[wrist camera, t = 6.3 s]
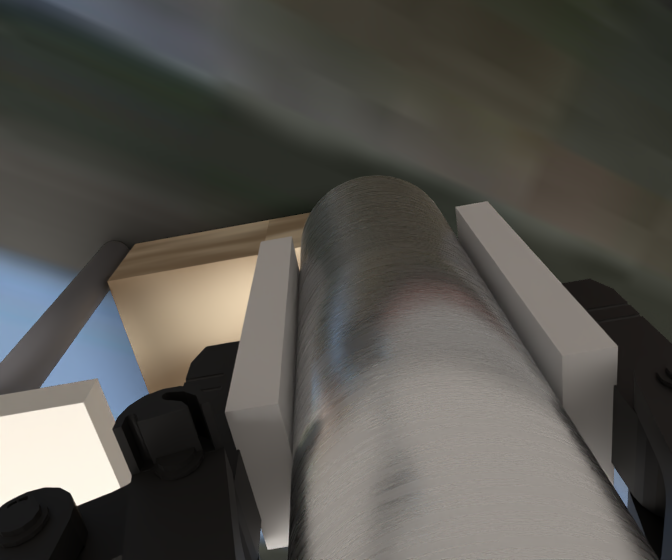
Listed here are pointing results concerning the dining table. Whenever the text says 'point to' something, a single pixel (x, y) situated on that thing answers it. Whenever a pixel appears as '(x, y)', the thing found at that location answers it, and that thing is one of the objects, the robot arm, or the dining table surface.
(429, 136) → the dining table surface
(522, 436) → the peg
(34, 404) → the miniature white table
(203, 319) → the socket block
